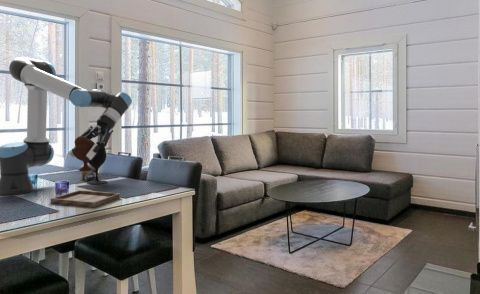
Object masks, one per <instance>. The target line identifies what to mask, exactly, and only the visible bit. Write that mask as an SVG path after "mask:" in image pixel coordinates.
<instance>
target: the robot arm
mask: <svg viewBox="0 0 480 294" xmlns="http://www.w3.org/2000/svg"><path fill="white" fill-rule="evenodd" d="M8 69H9V73H10V76H11V77H12V78H13V79H14V80H16V81H19V82H21V83H23V84H24V87H25V88H26V90H27V110H26V112H27V120H26V137H25V138H24V139H23V142H20V141H19V142H10V143H5V144H3V145H1V146H0V196H1V195H2V196H3V195H4V196H12V195H23V194H27V193H31V192H33V191H34V185H33V183H32V180H31V178H30V175H29V174H30V173H29V168H34V167H43V166H46V165H47V164H49V163H50V162H51V161H52V160H53V158H54V155H55V150H54V148H53V146H52V144H50V140H49V139H48V138H47V114H48V113H47V112H48V111H47V110H48V109H47V107H48V93H51V94H53V95H56V96H58V97H61V98H63V99H65V100H67V101H69V102H70V103H71V104H72V105H73V106H75V107H79V108H102V109H104V111H103V112H102V114H101V115H100V116H99V117H98V118H97V120H96V125H95V126H92V125H90V126H89V127H88V129H86V131H84V132H83V133H82V134H81V135H80V136H85V137H87V139H90V140H92V139H95V138H96V137H97V139H96V142H95V144H94V146H93V147H92V148H91V150H90V151H89V152H88V154H87V155H86V156H87V157H88V158H89V159H90V160H91V159H92V158H93V157H94V155H95V154H96V153H97V152H98V150H99V149H100V148H102V147H103V146H104V147H105V148H106V146H107V144H108V143H109V139H110V138H111V135H113V134H112V133H114V130H113V129H114V128H115V126H116V124H118V123H119V121H120V119H121V118H122V116H123V115H124V114H125V113H126V112H127V110H128V109H129V108H130V106H131V104H133V99H132V97H131V96H130V95H129V94H128V93H126V92H118V93H117V95H115V94H112V93H109V92H107V91H103V90H102V89H96V88H94V89H93V88H92V89H85V88H83V87H80V86H78V85H76V84H73V82H70V81H67V80H65V79H63V78H60V77H58V76H57V72H56V68H55V67H54V65H53V64H52V63H51V62H49V61H46V60H43V59H36V58H32V57H31V58H30V57H25V56H22V57H21V56H20V57H19V56H18V57H16V58H14V59H13V60H12V61H11V62H10V63H9V67H8ZM73 148H75V145H74V147H73ZM68 155H69V156H70V157H72V158H76V157H75V156H74V155H73V152H72V149H71V150H70V151H69V153H68Z"/></svg>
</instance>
